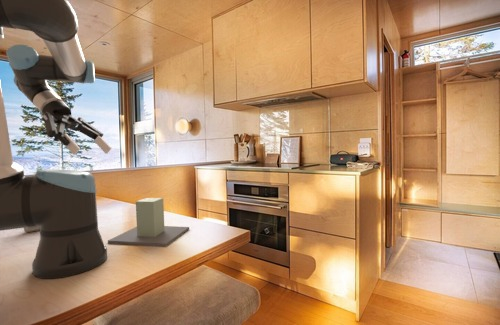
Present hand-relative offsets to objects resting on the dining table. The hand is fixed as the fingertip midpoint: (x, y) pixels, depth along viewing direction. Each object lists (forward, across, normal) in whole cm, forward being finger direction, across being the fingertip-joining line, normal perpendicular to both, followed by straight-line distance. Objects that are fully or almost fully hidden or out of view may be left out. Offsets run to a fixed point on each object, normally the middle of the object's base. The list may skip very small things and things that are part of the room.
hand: (94, 151), depth 87 cm
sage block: (+33, 0, -5) cm, 33 cm away
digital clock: (+3, -4, -37) cm, 37 cm away
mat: (+34, 0, -6) cm, 34 cm away
